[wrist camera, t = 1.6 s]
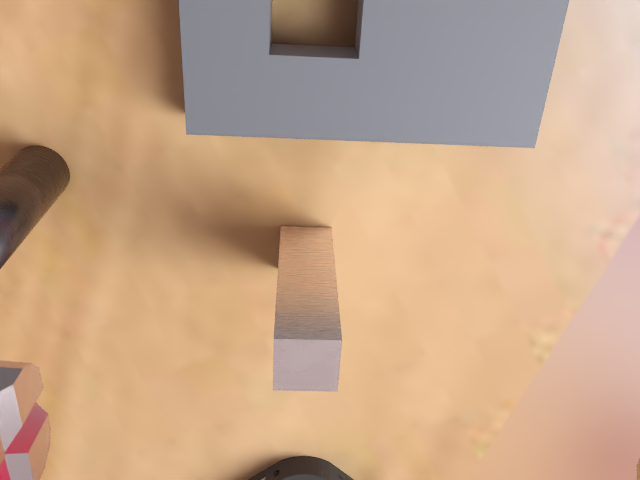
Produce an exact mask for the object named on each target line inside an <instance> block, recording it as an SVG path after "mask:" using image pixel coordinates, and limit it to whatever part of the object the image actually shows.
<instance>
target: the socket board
mask: <svg viewBox="0 0 640 480" xmlns="http://www.w3.org/2000/svg"><path fill="white" fill-rule="evenodd" d="M568 3H569V0H358V11H357V24H356V37H355V47H344V46H322V45H301V44H279V43H271V36H272V0H179V15H180V33H181V50H182V67H183V84H184V101H185V118H186V134H190V135H216V136H242V137H267V138H293V139H319V140H344V141H370V142H395V143H421V144H447V145H472V146H498V147H524V148H535V144H536V140H537V135H538V131H539V127H540V123H541V118H542V114H543V110H544V105H545V101H546V97H547V93H548V88H549V84H550V80H551V76H552V71H553V67H554V63H555V58H556V54H557V50H558V46H559V41H560V37H561V33H562V29H563V24H564V20H565V16H566V12H567V7H568Z"/></svg>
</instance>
